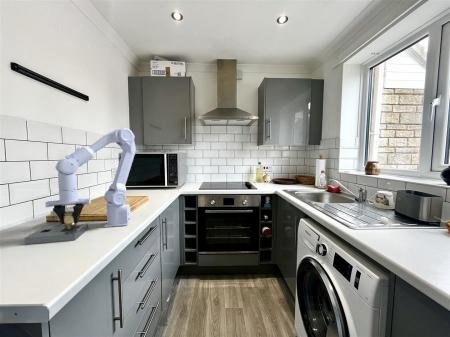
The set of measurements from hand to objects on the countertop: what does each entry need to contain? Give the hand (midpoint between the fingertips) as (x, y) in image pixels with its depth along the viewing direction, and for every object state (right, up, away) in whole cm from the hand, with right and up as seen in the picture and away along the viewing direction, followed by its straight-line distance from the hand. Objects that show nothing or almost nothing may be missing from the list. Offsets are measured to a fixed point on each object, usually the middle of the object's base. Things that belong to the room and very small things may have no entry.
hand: (70, 223), depth 82 cm
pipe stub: (0, -2, 0) cm, 2 cm away
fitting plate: (-4, -5, 0) cm, 6 cm away
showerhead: (-13, -4, +14) cm, 20 cm away
